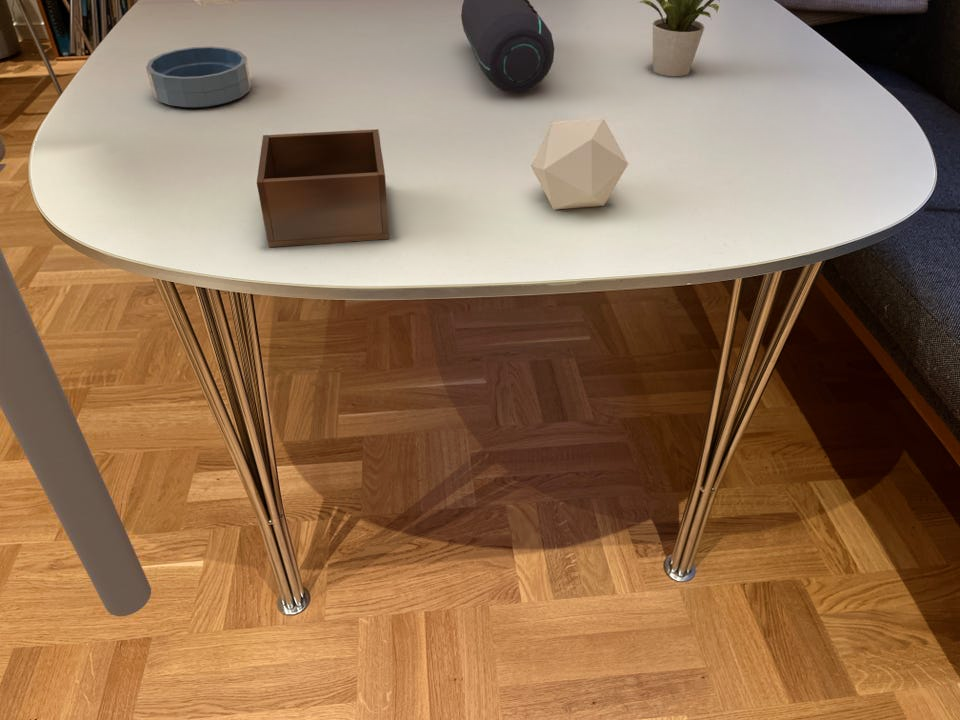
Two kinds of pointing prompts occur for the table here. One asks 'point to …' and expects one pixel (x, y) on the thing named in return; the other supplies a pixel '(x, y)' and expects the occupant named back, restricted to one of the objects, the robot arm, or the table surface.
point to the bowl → (199, 76)
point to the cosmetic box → (213, 2)
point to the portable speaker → (508, 42)
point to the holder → (322, 188)
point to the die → (578, 163)
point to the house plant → (677, 35)
